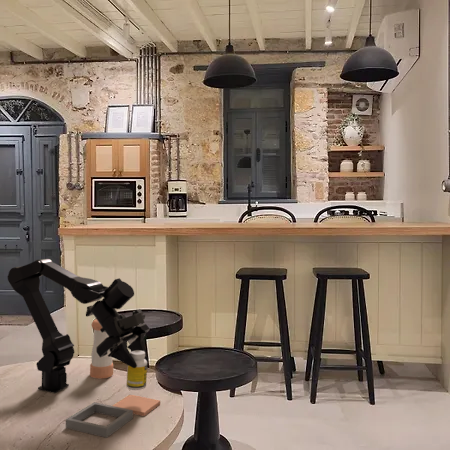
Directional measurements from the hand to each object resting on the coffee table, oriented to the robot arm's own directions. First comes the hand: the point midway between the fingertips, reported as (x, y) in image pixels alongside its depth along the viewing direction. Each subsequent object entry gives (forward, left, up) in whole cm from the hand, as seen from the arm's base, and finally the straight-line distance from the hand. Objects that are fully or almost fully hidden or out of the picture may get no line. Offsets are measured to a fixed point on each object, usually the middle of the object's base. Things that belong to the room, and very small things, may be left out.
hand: (141, 364), depth 144 cm
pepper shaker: (-24, +17, -12) cm, 32 cm away
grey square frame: (-4, -13, -12) cm, 18 cm away
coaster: (-1, 0, -12) cm, 12 cm away
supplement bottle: (-1, 0, -7) cm, 7 cm away
